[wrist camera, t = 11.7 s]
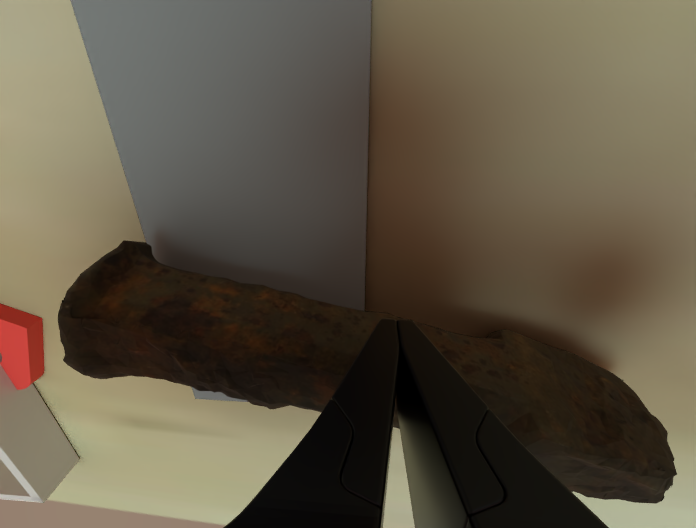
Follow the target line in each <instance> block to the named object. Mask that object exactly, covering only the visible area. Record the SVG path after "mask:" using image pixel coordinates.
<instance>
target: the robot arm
mask: <svg viewBox="0 0 696 528" xmlns="http://www.w3.org/2000/svg"><path fill="white" fill-rule="evenodd" d="M395 400H396V406H397V413H398V420H399V426H400V433H401V439H402V446H403V452H404V459H405V465H406V472H407V478H408V485H409V492H410V498H411V505H412V511H413V518H414V524H415V528H609V527H607V526H606V525H605V524H604V523H603V522H602V521H601V520H600V519H599V518H598V517H597V516H596V515H595V514H594V513H593V512H592V511H591V510H590V509H589V508H588V507H587V506H585V505H584V504H583V503H582V502H581V501H580V500H579V499H578V498H577V497H576V496H575V495H574V494H573V493H572V492H571V491H570V490H569V489H568V488H567V487H566V486H565V485H564V484H562V483H561V482H560V481H559V480H558V479H557V478H556V477H555V476H554V475H553V474H552V473H551V472H550V471H549V470H548V469H547V468H546V467H545V466H544V465H543V464H542V463H541V462H540V461H539V460H538V459H537V458H536V457H535V456H534V455H533V454H532V453H531V452H530V451H529V450H528V449H527V448H526V447H525V446H524V445H523V444H522V443H521V442H520V441H519V440H518V439H517V438H516V437H515V436H514V435H513V434H512V433H511V432H510V430H509V429H508V428H507V427H506V426H505V425H504V424H503V423H502V422H501V421H500V419H499V418H498V417H497V416H496V415H495V414H494V413H493V411H492V410H490V409H489V407H488V406H487V405H486V404H485V403H484V401H483V400H482V399H481V398H480V397H479V396H478V395H477V393H476V392H475V391H474V390H473V389H472V388H471V387H470V385H469V384H468V383H467V382H466V381H465V380H464V379H463V377H462V376H461V375H460V374H459V373H458V372H457V371H456V369H455V368H454V367H453V366H452V365H451V364H450V363H449V361H448V360H447V359H446V358H445V357H444V356H443V355H442V353H441V352H440V351H439V350H438V349H437V348H436V347H435V345H434V344H433V343H432V342H431V341H430V340H429V339H428V337H427V336H426V335H425V334H424V333H423V332H422V331H421V330H420V328H419V327H418V326H417V325H416V324H415V323H414V322H413V321H412V320H408V319H398V320H397V322H396V320H395V319H385V318H382V319H381V320H380V321H379V322H378V324H377V326H376V327H375V329H374V330H373V332H372V334H371V335H370V337H369V338H368V340H367V342H366V343H365V345H364V346H363V348H362V350H361V351H360V353H359V354H358V356H357V358H356V359H355V361H354V362H353V364H352V366H351V367H350V369H349V370H348V372H347V374H346V375H345V377H344V378H343V380H342V381H341V383H340V385H339V386H338V388H337V389H336V391H335V393H334V394H333V396H332V398H331V400H329V402H328V404H327V405H326V407H325V408H324V410H323V411H322V413H321V414H320V416H319V417H318V419H317V420H316V422H315V423H314V425H313V426H312V428H311V429H310V430H309V432H308V433H307V434H306V435H305V437H304V438H303V439H302V441H301V442H300V443H299V444H298V446H297V447H296V448H295V449H294V451H293V452H292V453H291V454H290V455H289V457H288V458H287V459H286V460H285V461H284V463H283V464H282V465H281V466H280V468H279V469H278V470H277V471H276V472H275V474H274V475H273V476H272V477H271V478H270V480H269V481H268V482H267V483H266V484H265V486H264V487H263V488H262V489H261V490H260V492H259V493H258V494H257V495H256V496H255V498H254V499H253V500H252V501H251V502H250V503H249V505H248V506H247V507H246V508H245V509H244V510H243V511H242V512H241V513H240V514H239V515H238V516H237V517H236V518H234V519H233V520H232V521H231V522H230V523H229V524H227V525H226V526H225V527H224V528H383V519H384V510H385V500H386V490H387V480H388V470H389V460H390V450H391V440H392V430H393V420H394V411H395ZM488 409H489V410H488Z"/></svg>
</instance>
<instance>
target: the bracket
mask: <svg viewBox="0 0 696 528" xmlns="http://www.w3.org/2000/svg"><path fill="white" fill-rule="evenodd" d="M0 353H1V355H2V361H1V362H0V365H1V366H2V368H3V369H4V371H5V372H6V374H7V375H8V377H9V378H10V380H11V381H12V383H13V384H14V386H15V387H16V389H17V390H22V389H25V388H27V387H29V386H30V385H31V384H32V383H33V382H35V381H36V380H37V379H38V378H39V377H41V376H42V375H43V373H44V350H43V325H42V318H40V317H37V316H34V315H32V314H29V313H26V312H23V311H20V310H17V309H14V308H12V307H9V306H6V305H3V304H0Z"/></svg>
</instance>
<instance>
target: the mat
mask: <svg viewBox="0 0 696 528" xmlns="http://www.w3.org/2000/svg"><path fill="white" fill-rule="evenodd" d="M71 3H72V6H73V9H74V13H75V16H76V19H77V22H78V25H79V29H80V32H81V35H82V38H83V41H84V45H85V48H86V51H87V54H88V57H89V61H90V64H91V67H92V70H93V73H94V77H95V80H96V83H97V86H98V89H99V93H100V96H101V99H102V102H103V105H104V109H105V112H106V115H107V118H108V121H109V125H110V128H111V131H112V134H113V137H114V141H115V144H116V147H117V150H118V153H119V156H120V160H121V163H122V166H123V169H124V172H125V176H126V179H127V182H128V185H129V188H130V192H131V195H132V198H133V201H134V204H135V208H136V211H137V214H138V217H139V220H140V224H141V227H142V230H143V233H144V236H145V240H146V243H147V244H149V245H150V246H151V247H152V255H153V256H154V258H155V259H156V260H157V261H158V262H159V263H161V264H164V265H167V266H170V267H174V268H177V269H181V270H186V271H191V272H196V273H200V274H204V275H208V276H214V277H222V278H228V279H231V280H233V281H236V282H239V283H247V284H257V285H264V286H267V287H270V288H273V289H276V290H279V291H286V292H291V293H296V294H299V295H301V296H303V297H306V298H309V299H313V300H318V301H322V302H326V303H330V304H334V305H338V306H342V307H347V308H352V309H357V310H362V311H364V305H365V262H366V219H367V176H368V133H369V90H370V47H371V4H372V0H71ZM192 390H193V393H194V396H195V399H208V400H225V401H241V402H248V401H247V400H241V399H236V398H231V397H227V396H226V395H225V394H223V393H221V392H215V393H214V392H212V391H198V390H196V389H194V388H193V387H192Z"/></svg>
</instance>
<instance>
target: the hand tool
mask: <svg viewBox="0 0 696 528" xmlns="http://www.w3.org/2000/svg"><path fill="white" fill-rule="evenodd" d="M382 318H385V319H395V320H396V322H397V320H398V319H402V318H399V317H395V316H393V315H391V314H389V313H378V312H369V311H362V310H357V309H352V308H347V307H342V306H338V305H334V304H330V303H326V302H322V301H318V300H313V299H309V298H306V297H303V296H301V295H299V294H296V293H291V292H286V291H279V290H276V289H273V288H270V287H267V286H264V285H257V284H247V283H239V282H236V281H233V280H231V279H228V278H222V277H214V276H208V275H204V274H200V273H196V272H191V271H186V270H181V269H177V268H174V267H170V266H167V265H164V264H161V263H159V262H158V261H157V260H156V259H155V258H154V256H153V255H152V247H151V246H150V245H149V244H147V243H144V242H134V241H123V242H122V243H121V244H120V245H119V246H118V247H117V248H116V249H115V250H113V251H111V252H109V253H108V254H106V255H105V256H103V257H102V258H101V259H99V260H98V261H97V262H96V263H94V264H93V265H92V266H90V267H89V268H88V269H86V270H85V271H84V272H83V273H81V274H80V276H79V277H78V279H77V280H76V281H75V283H74V284H73V285H72V286H71V287H70V288H69V289H68V290H67V293H66V295H65V298H64V300H62V303H61V306H60V309H59V313H58V324H59V329H60V338H61V342H62V344H63V346H64V350H65V357H64V359H63V361H64V362H65V363H66V364H67V365H69V366H70V367H72V368H73V369H75V370H76V371H78V372H80V373H81V374H83V375H86V376H90V377H92V378H98V379H108V378H113V377H124V376H131V375H132V376H143V377H150V378H155V379H165V380H168V381H171V382H174V383H180V384H183V385H187V386H191V387H193V388H194V389H196V390H198V391H212V392H214V393H215V392H221V393H223V394H225V395H226V396H227V397H231V398H236V399H241V400H247V401H248V402H250V403H251V404H253V405H258V406H265V407H268V408H269V409H276V408H280V407H285V406H289V405H292V406H295V407H299V408H303V409H310V410H315V411H319V412H322V411H323V410H324V408H325V407H326V405H327V404H328V402H329V400H331V398H332V396H333V394H334V393H335V391H336V389H337V388H338V386H339V385H340V383H341V381H342V380H343V378H344V377H345V375H346V374H347V372H348V370H349V369H350V367H351V366H352V364H353V362H354V361H355V359H356V358H357V356H358V354H359V353H360V351H361V350H362V348H363V346H364V345H365V343H366V342H367V340H368V338H369V337H370V335H371V334H372V332H373V330H374V329H375V327H376V326H377V324H378V322H379V321H380V320H381V319H382ZM414 323H415V324H416V325H417V326H418V327H419V328H420V330H421V331H422V332H423V333H424V334H425V335H426V336H427V337H428V339H429V340H430V341H431V342H432V343H433V344H434V345H435V347H436V348H437V349H438V350H439V351H440V352H441V353H442V355H443V356H444V357H445V358H446V359H447V360H448V361H449V363H450V364H451V365H452V366H453V367H454V368H455V369H456V371H457V372H458V373H459V374H460V375H461V376H462V377H463V379H464V380H465V381H466V382H467V383H468V384H469V385H470V387H471V388H472V389H473V390H474V391H475V392H476V393H477V395H478V396H479V397H480V398H481V399H482V400H483V401H484V403H485V404H486V405H487V406H488V407H489V409H490V410H492V411H493V413H494V414H495V415H496V416H497V417H498V418H499V419H500V421H501V422H502V423H503V424H504V425H505V426H506V427H507V428H508V429H509V430H510V432H511V433H512V434H513V435H514V436H515V437H516V438H517V439H518V440H519V441H520V442H521V443H522V444H523V445H524V446H525V447H526V448H527V449H528V450H529V451H530V452H531V453H532V454H533V455H534V456H535V457H536V458H537V459H538V460H539V461H540V462H541V463H542V464H543V465H544V466H545V467H546V468H547V469H548V470H549V471H550V472H551V473H552V474H553V475H554V476H555V477H556V478H557V479H558V480H559V481H560V482H561V483H562V484H564V485H565V486H566V487H567V488H568V489H569V490H570V491H571V492H573V491H574V492H577V493H580V494H583V495H584V496H586V497H593V498H599V499H605V500H606V499H621V500H626V501H631V502H639V503H658V502H660V501H662V500H663V499H664V493H665V491H666V490H668V489H669V488H670V486H671V485H673V477H674V476H675V475H677V473H676V469H675V466H674V462H673V461H674V457H673V454H672V452H671V450H670V447H669V445H668V442H667V434H668V433H667V431H666V430H665V428H664V427H663V425H662V424H661V422H660V421H659V420H658V419H657V418H656V417H654V416H653V415H651V414H650V412H649V411H648V410H647V408H646V407H645V406H644V404H643V403H642V401H641V400H640V398H639V397H638V395H637V394H636V393H635V392H634V391H633V390H632V389H631V388H630V387H629V386H628V385H627V384H626V383H624V382H623V380H621V379H620V378H618V377H617V376H616V375H614V374H613V373H611V372H609V371H607V370H605V369H603V368H601V367H599V366H597V365H595V364H593V363H591V362H589V361H587V360H585V359H583V358H581V357H579V356H577V355H575V354H572V353H569V352H567V351H565V350H560V349H556V348H553V347H550V346H548V345H545V344H543V343H540V342H538V341H535V340H533V339H530V338H528V337H525V336H523V335H520V334H518V333H515V332H513V331H510V330H506V329H504V330H501V331H497V332H493V333H491V334H490V335H489V336H488V337H487V338H479V337H471V336H466V335H461V334H455V333H451V332H448V331H445V330H442V329H439V328H435V327H432V326H428V325H424V324H420V323H416V322H414ZM489 409H488V410H489ZM393 427H395V428H399V429H400V426H399V420H398V413H397V406H396V400H395V411H394V420H393Z"/></svg>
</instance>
